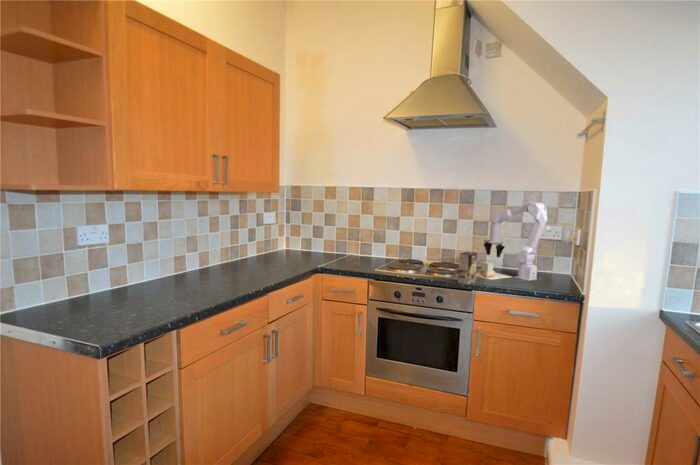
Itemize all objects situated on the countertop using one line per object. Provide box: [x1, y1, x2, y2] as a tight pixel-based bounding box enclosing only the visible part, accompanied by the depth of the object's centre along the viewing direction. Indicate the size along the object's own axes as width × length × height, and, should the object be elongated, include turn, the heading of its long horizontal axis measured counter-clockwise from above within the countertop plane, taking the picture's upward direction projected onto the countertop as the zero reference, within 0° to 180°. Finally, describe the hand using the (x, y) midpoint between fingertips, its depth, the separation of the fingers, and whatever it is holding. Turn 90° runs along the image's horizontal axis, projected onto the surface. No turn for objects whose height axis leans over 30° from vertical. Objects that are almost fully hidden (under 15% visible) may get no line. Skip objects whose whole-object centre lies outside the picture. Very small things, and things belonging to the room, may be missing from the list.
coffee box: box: [457, 251, 478, 286], centre depth 218 cm, size 9×6×16 cm
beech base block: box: [478, 269, 496, 279], centre depth 234 cm, size 6×6×4 cm
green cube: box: [480, 261, 494, 272], centre depth 233 cm, size 4×4×4 cm
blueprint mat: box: [476, 272, 512, 281], centre depth 237 cm, size 16×19×1 cm
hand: (493, 256), depth 248 cm, fingers open, 7 cm apart
